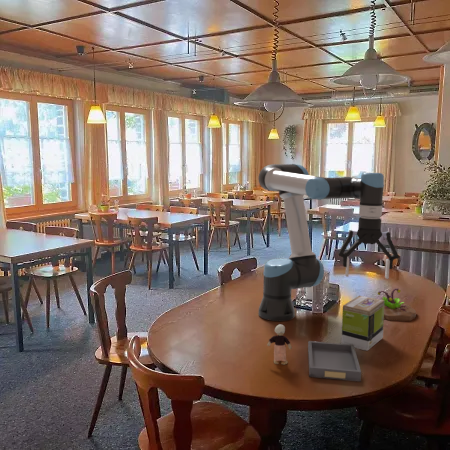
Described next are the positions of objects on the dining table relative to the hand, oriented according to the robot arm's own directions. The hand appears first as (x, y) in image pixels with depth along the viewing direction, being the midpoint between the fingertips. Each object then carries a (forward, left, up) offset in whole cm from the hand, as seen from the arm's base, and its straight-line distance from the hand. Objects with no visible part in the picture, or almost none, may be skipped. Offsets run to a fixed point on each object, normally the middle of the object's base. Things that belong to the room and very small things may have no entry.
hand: (366, 276), depth 158 cm
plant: (+17, +35, -25) cm, 45 cm away
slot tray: (-12, -21, -24) cm, 34 cm away
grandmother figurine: (-29, -23, -24) cm, 44 cm away
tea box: (0, 0, -24) cm, 24 cm away
